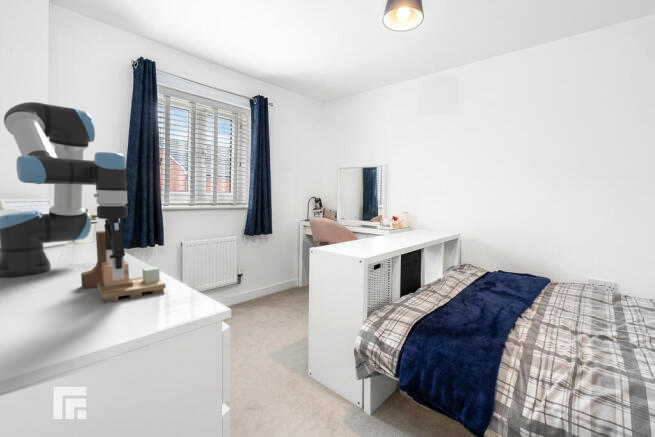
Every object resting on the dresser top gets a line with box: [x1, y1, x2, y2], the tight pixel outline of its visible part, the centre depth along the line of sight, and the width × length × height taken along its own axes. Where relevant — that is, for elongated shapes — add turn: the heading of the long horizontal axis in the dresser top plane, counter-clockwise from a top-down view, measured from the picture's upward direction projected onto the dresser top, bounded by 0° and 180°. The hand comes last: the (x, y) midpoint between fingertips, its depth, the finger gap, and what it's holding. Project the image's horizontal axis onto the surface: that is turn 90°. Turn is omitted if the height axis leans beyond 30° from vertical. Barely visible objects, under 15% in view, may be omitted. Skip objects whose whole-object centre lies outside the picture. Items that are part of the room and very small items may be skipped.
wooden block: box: [80, 230, 108, 289], centre depth 102 cm, size 9×4×18 cm, turn 133°
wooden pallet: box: [97, 276, 166, 304], centre depth 96 cm, size 14×16×2 cm
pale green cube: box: [142, 266, 161, 283], centre depth 99 cm, size 4×4×4 cm
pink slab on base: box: [99, 259, 133, 291], centre depth 93 cm, size 6×8×7 cm
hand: (115, 274), depth 93 cm, fingers open, 13 cm apart
